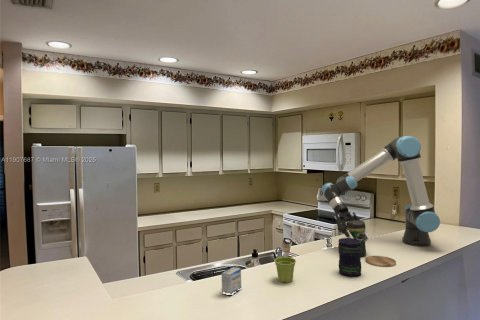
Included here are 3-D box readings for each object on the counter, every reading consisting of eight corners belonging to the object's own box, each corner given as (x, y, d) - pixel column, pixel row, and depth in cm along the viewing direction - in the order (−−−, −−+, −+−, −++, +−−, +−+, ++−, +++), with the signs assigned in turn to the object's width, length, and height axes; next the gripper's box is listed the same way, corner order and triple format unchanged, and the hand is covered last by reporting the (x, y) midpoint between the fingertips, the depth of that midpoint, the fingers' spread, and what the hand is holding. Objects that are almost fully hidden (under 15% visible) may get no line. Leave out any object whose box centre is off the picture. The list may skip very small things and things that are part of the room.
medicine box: (231, 297, 124) (230, 274, 124) (221, 294, 126) (221, 272, 126) (241, 289, 131) (241, 268, 130) (232, 287, 133) (232, 266, 133)
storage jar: (345, 268, 153) (344, 236, 153) (365, 273, 146) (364, 240, 146) (334, 273, 146) (334, 240, 146) (355, 279, 139) (354, 245, 139)
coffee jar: (358, 252, 177) (358, 218, 177) (368, 256, 169) (368, 221, 169) (343, 254, 174) (343, 219, 174) (353, 258, 166) (352, 222, 166)
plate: (382, 256, 169) (382, 254, 169) (402, 265, 155) (402, 263, 155) (359, 259, 165) (359, 256, 165) (377, 268, 152) (377, 265, 152)
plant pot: (282, 286, 133) (282, 265, 133) (270, 278, 141) (270, 259, 141) (300, 281, 137) (300, 261, 137) (287, 274, 146) (287, 255, 145)
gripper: (350, 208, 190) (372, 241, 176) (320, 212, 181) (340, 247, 167) (357, 201, 185) (379, 234, 171) (326, 204, 176) (347, 239, 162)
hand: (360, 240), depth 169 cm, fingers closed on coffee jar, 9 cm apart
